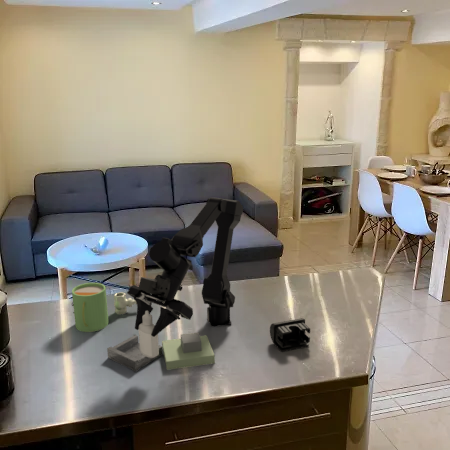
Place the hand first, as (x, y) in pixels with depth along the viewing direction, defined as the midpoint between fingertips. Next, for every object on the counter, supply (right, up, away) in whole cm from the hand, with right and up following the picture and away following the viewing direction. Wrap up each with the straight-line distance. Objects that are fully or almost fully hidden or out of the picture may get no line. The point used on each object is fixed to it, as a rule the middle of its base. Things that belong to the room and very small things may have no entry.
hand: (144, 332), depth 122 cm
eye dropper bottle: (+1, -6, +3) cm, 7 cm away
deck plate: (+10, -10, +14) cm, 19 cm away
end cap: (+39, -8, +20) cm, 45 cm away
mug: (-22, -5, +31) cm, 38 cm away
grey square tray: (-5, -10, +14) cm, 18 cm away
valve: (-10, -2, +41) cm, 42 cm away
